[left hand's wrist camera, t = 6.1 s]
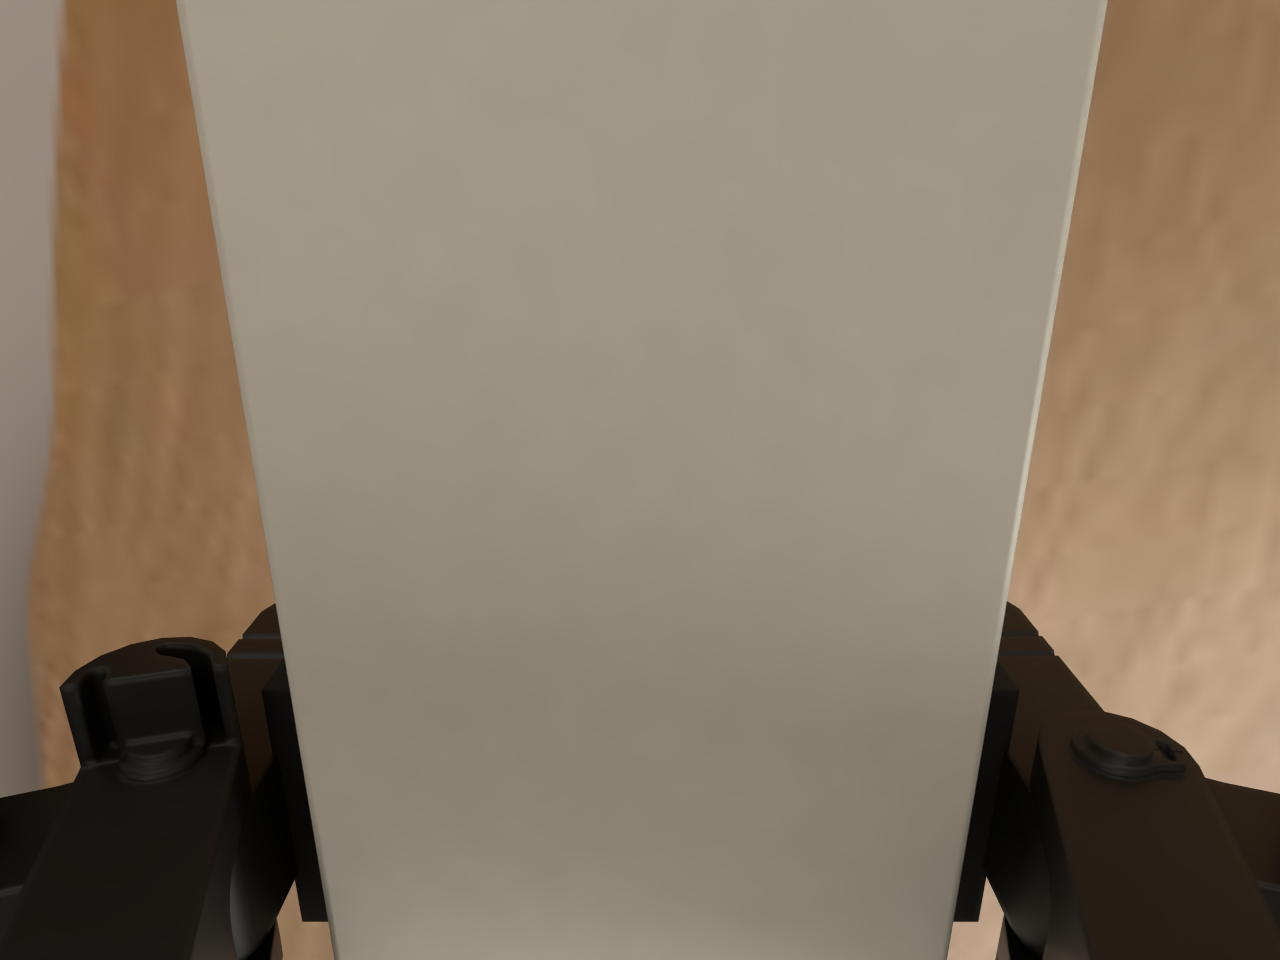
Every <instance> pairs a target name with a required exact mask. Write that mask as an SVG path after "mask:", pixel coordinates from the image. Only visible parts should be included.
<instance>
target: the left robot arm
mask: <svg viewBox="0 0 1280 960" xmlns="http://www.w3.org/2000/svg"><path fill="white" fill-rule="evenodd" d="M59 688H60V692H61V695H62V699H63V703H64V706H65V710H66V714H67V717H68V721H69V725H70V728H71V732H72V736H73V739H74V743H75V747H76V750H77V754H78V758H79V761H80V765H81V768H80V770H79V772H78V774H77V776H76V778H75V781H74V782H72V783H69V784H65V785H61V786H57V787H52V788H47V789H42V790H37V791H32V792H27V793H23V794H17V795H13V796H8V797H3V798H0V960H282V958H283V953H282V946H281V939H280V933H279V928H278V923H277V916H278V914H279V912H280V909H281V907H282V905H283V903H284V901H285V899H286V897H287V895H288V893H289V890H290V888H291V886H292V884H293V882H294V880H295V883H296V888H297V894H298V900H299V905H300V911H301V916H302V922H328V917H327V910H326V904H325V898H324V892H323V886H322V880H321V874H320V868H319V862H318V856H317V850H316V844H315V838H314V832H313V826H312V820H311V814H310V808H309V802H308V796H307V790H306V784H305V778H304V772H303V765H302V759H301V753H300V747H299V741H298V735H297V729H296V723H295V717H294V711H293V705H292V699H291V693H290V687H289V681H288V675H287V669H286V663H285V657H284V651H283V645H282V639H281V633H280V627H279V620H278V614H277V608H276V603H275V604H273V605H272V606H270V607H268V608H267V609H265V610H264V611H262V612H261V613H260V614H259V616H258V617H257V618H256V619H255V620H254V622H253V623H252V624H251V625H250V627H249V628H248V629H247V630H246V631H245V633H244V634H243V639H239V640H238V641H237V642H236V644H235V645H234V646H233V647H232V648H231V650H230V651H229V652H228V653H227V657H226V652H225V651H224V650H223V649H222V648H220V647H219V646H218V645H216V644H215V643H214V642H212V641H208V640H203V639H198V638H193V637H176V638H160V639H155V640H150V641H145V642H140V643H136V644H131V645H128V646H126V647H123V648H120V649H118V650H115V651H112V652H109V653H107V654H104V655H101V656H99V657H98V658H96V659H94V660H93V661H91V662H89V663H88V664H86V665H84V666H83V667H81V668H79V669H78V670H76V671H75V672H74V673H73V674H72V675H71V676H70V677H69V678H68V679H67V680H66V681H65V682H64V683H63V684H62V685H61V686H60V687H59ZM986 876H987V878H988V880H989V883H990V885H991V887H992V889H993V891H994V893H995V895H996V897H997V899H998V901H999V904H1000V906H1001V908H1002V910H1003V912H1004V917H1003V923H1002V928H1001V933H1000V938H999V943H998V949H997V954H996V959H995V960H1280V794H1278V793H1273V792H1268V791H1263V790H1258V789H1253V788H1248V787H1243V786H1238V785H1233V784H1228V783H1223V782H1219V781H1216V780H1212V779H1208V778H1205V777H1204V775H1203V773H1202V771H1201V769H1200V767H1199V765H1198V764H1197V763H1196V761H1195V760H1194V759H1193V758H1192V756H1191V755H1190V754H1189V753H1188V751H1187V750H1186V749H1185V748H1184V747H1183V746H1181V745H1180V744H1179V743H1177V742H1176V741H1174V740H1173V739H1171V738H1170V737H1169V736H1167V735H1166V734H1164V733H1163V732H1161V731H1160V730H1157V729H1155V728H1153V727H1150V726H1148V725H1146V724H1144V723H1141V722H1139V721H1137V720H1134V719H1132V718H1128V717H1124V716H1120V715H1116V714H1112V713H1108V712H1104V711H1103V709H1102V708H1101V707H1100V706H1099V705H1098V703H1097V702H1096V701H1095V700H1094V698H1093V697H1092V696H1091V695H1090V694H1089V692H1088V691H1087V690H1086V689H1085V688H1084V686H1083V685H1082V684H1081V683H1080V682H1079V680H1078V679H1077V678H1076V677H1075V675H1074V674H1073V673H1072V672H1071V671H1070V669H1069V668H1068V667H1067V666H1066V665H1065V663H1064V662H1063V661H1062V660H1061V659H1060V657H1059V656H1055V655H1054V650H1053V649H1052V648H1051V646H1050V645H1049V644H1048V643H1047V642H1046V640H1045V639H1044V638H1043V637H1042V636H1039V635H1038V631H1037V629H1036V628H1035V627H1034V626H1033V625H1032V623H1031V622H1030V621H1029V620H1028V619H1027V617H1026V616H1025V615H1024V614H1023V612H1022V611H1021V610H1020V609H1019V608H1017V607H1016V606H1014V605H1012V604H1011V603H1009V602H1007V603H1006V609H1005V615H1004V621H1003V627H1002V633H1001V639H1000V645H999V651H998V657H997V663H996V669H995V675H994V681H993V687H992V693H991V699H990V705H989V711H988V717H987V723H986V728H985V734H984V740H983V746H982V752H981V758H980V764H979V770H978V776H977V782H976V788H975V794H974V800H973V806H972V812H971V818H970V824H969V830H968V836H967V842H966V848H965V854H964V860H963V866H962V872H961V878H960V883H959V889H958V895H957V901H956V907H955V913H954V919H953V922H978V920H979V914H980V909H981V903H982V897H983V892H984V886H985V881H986Z"/></svg>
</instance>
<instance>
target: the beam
mask: <svg viewBox="0 0 1280 960" xmlns="http://www.w3.org/2000/svg"><path fill="white" fill-rule="evenodd" d="M176 4H177V10H178V16H179V22H180V28H181V34H182V41H183V47H184V53H185V59H186V65H187V71H188V77H189V83H190V89H191V95H192V101H193V107H194V113H195V119H196V125H197V131H198V137H199V143H200V149H201V155H202V161H203V167H204V173H205V179H206V186H207V192H208V198H209V204H210V210H211V216H212V222H213V228H214V234H215V240H216V246H217V252H218V258H219V264H220V270H221V276H222V282H223V288H224V294H225V300H226V306H227V312H228V318H229V324H230V330H231V337H232V343H233V349H234V355H235V361H236V367H237V373H238V379H239V385H240V391H241V397H242V403H243V409H244V415H245V421H246V427H247V433H248V439H249V445H250V451H251V457H252V463H253V469H254V475H255V482H256V488H257V494H258V500H259V506H260V512H261V518H262V524H263V530H264V536H265V542H266V548H267V554H268V560H269V566H270V572H271V578H272V584H273V590H274V596H275V602H276V608H277V614H278V620H279V627H280V633H281V639H282V645H283V651H284V657H285V663H286V669H287V675H288V681H289V687H290V693H291V699H292V705H293V711H294V717H295V723H296V729H297V735H298V741H299V747H300V753H301V759H302V765H303V772H304V778H305V784H306V790H307V796H308V802H309V808H310V814H311V820H312V826H313V832H314V838H315V844H316V850H317V856H318V862H319V868H320V874H321V880H322V886H323V892H324V898H325V904H326V910H327V917H328V923H329V929H330V935H331V941H332V947H333V953H334V959H335V960H947V955H948V949H949V943H950V937H951V931H952V925H953V919H954V913H955V907H956V901H957V895H958V889H959V883H960V878H961V872H962V866H963V860H964V854H965V848H966V842H967V836H968V830H969V824H970V818H971V812H972V806H973V800H974V794H975V788H976V782H977V776H978V770H979V764H980V758H981V752H982V746H983V740H984V734H985V728H986V723H987V717H988V711H989V705H990V699H991V693H992V687H993V681H994V675H995V669H996V663H997V657H998V651H999V645H1000V639H1001V633H1002V627H1003V621H1004V615H1005V609H1006V603H1007V597H1008V591H1009V585H1010V579H1011V574H1012V568H1013V562H1014V556H1015V550H1016V544H1017V538H1018V532H1019V526H1020V520H1021V514H1022V508H1023V502H1024V496H1025V490H1026V484H1027V478H1028V472H1029V466H1030V460H1031V454H1032V448H1033V442H1034V436H1035V430H1036V424H1037V419H1038V413H1039V407H1040V401H1041V395H1042V389H1043V383H1044V377H1045V371H1046V365H1047V359H1048V353H1049V347H1050V341H1051V335H1052V329H1053V323H1054V317H1055V311H1056V305H1057V299H1058V293H1059V287H1060V281H1061V275H1062V269H1063V264H1064V258H1065V252H1066V246H1067V240H1068V234H1069V228H1070V222H1071V216H1072V210H1073V204H1074V198H1075V192H1076V186H1077V180H1078V174H1079V168H1080V162H1081V156H1082V150H1083V144H1084V138H1085V132H1086V126H1087V120H1088V114H1089V109H1090V103H1091V97H1092V91H1093V85H1094V79H1095V73H1096V67H1097V61H1098V55H1099V49H1100V43H1101V37H1102V31H1103V25H1104V19H1105V13H1106V7H1107V0H176Z"/></svg>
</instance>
